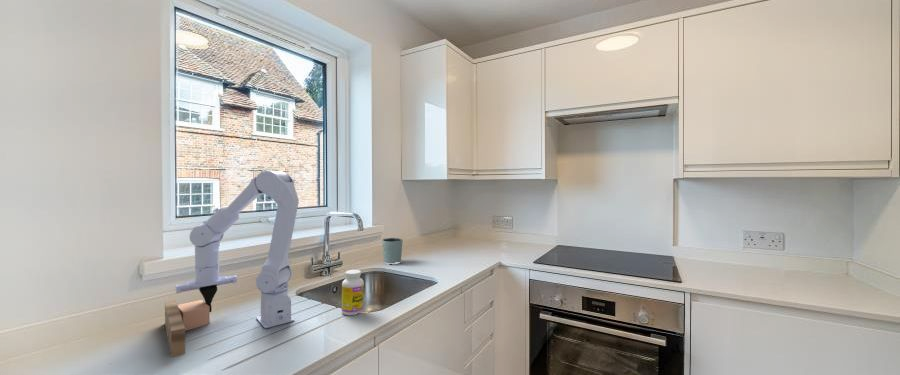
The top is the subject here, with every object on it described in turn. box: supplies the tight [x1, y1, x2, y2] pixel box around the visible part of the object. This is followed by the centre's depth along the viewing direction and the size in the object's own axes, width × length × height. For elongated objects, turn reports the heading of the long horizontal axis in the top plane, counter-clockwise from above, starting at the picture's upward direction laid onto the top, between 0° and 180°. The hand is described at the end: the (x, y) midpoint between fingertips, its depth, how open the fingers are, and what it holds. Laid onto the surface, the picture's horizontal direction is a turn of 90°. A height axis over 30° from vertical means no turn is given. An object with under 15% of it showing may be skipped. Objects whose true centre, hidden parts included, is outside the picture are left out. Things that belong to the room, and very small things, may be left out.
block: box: [177, 299, 211, 331], centre depth 96 cm, size 8×6×5 cm
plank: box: [164, 300, 186, 358], centre depth 87 cm, size 24×2×6 cm, turn 43°
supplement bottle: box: [341, 269, 365, 316], centre depth 105 cm, size 7×7×13 cm
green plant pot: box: [381, 237, 404, 263], centre depth 168 cm, size 10×10×12 cm
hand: (208, 311), depth 98 cm, fingers closed, pressing on block
